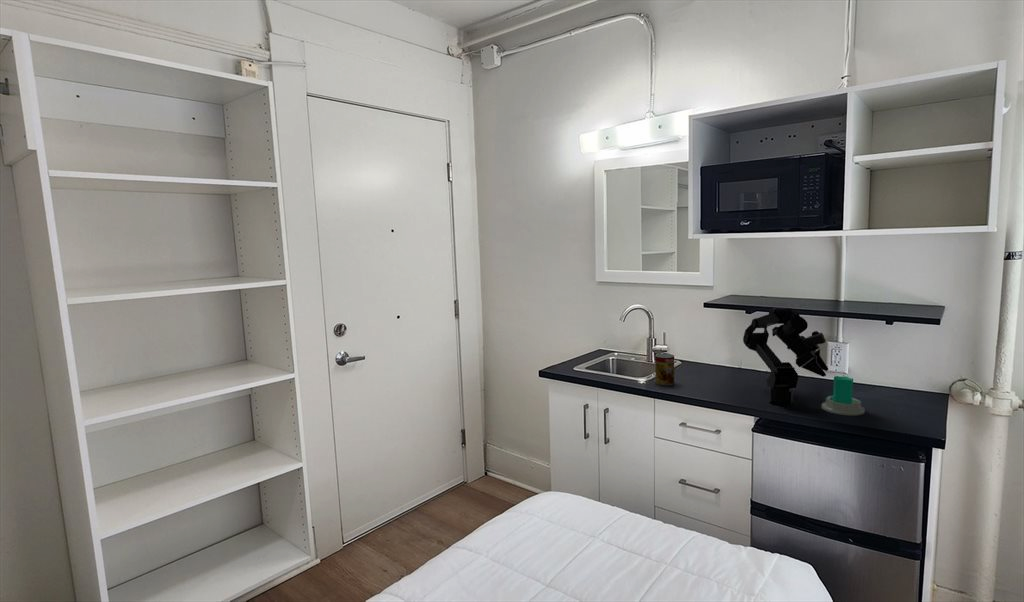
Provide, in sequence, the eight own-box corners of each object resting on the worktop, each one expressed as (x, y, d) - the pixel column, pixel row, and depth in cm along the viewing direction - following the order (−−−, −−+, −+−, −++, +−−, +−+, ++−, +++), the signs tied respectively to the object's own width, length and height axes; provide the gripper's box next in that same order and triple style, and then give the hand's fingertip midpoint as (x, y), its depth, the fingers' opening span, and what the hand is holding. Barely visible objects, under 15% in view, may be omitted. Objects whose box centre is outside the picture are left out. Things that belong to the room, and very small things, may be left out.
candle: (854, 410, 187) (856, 376, 185) (835, 408, 188) (836, 375, 187) (849, 404, 192) (850, 372, 191) (830, 403, 194) (831, 371, 193)
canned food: (671, 386, 227) (671, 358, 225) (652, 383, 231) (652, 356, 229) (676, 381, 233) (676, 354, 232) (658, 379, 237) (658, 352, 236)
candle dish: (817, 410, 190) (817, 401, 190) (826, 401, 200) (827, 392, 199) (860, 418, 181) (861, 408, 181) (868, 408, 191) (868, 398, 191)
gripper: (807, 328, 182) (844, 364, 177) (813, 321, 197) (847, 353, 192) (781, 349, 187) (816, 384, 182) (788, 340, 203) (821, 372, 198)
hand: (826, 373), depth 189 cm, fingers open, 9 cm apart
